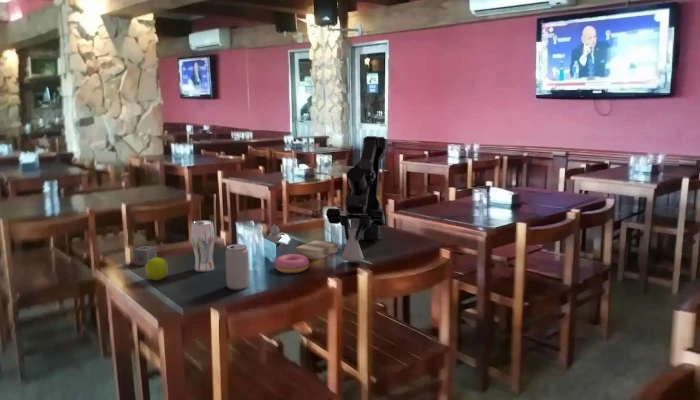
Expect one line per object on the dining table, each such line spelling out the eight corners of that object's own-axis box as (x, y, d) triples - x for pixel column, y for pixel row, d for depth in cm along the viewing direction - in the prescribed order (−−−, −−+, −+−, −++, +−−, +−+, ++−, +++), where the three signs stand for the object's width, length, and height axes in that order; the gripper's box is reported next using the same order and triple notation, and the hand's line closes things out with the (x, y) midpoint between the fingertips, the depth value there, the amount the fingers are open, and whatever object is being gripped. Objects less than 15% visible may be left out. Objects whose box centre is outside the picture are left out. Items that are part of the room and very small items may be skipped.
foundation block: (316, 248, 210) (316, 240, 210) (337, 251, 206) (337, 243, 205) (295, 256, 200) (295, 247, 200) (317, 260, 196) (317, 251, 195)
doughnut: (316, 269, 186) (316, 257, 185) (287, 277, 179) (287, 263, 178) (295, 262, 194) (295, 250, 193) (267, 269, 187) (267, 256, 186)
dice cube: (144, 260, 197) (143, 245, 196) (157, 261, 195) (156, 247, 194) (134, 264, 192) (133, 249, 191) (147, 265, 190) (146, 250, 189)
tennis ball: (145, 277, 178) (143, 256, 177) (168, 275, 180) (166, 254, 179) (146, 284, 172) (144, 262, 171) (170, 281, 174) (168, 259, 173)
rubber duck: (264, 243, 217) (264, 222, 215) (280, 241, 221) (280, 220, 219) (272, 246, 212) (271, 225, 211) (288, 244, 216) (287, 222, 215)
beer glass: (220, 267, 188) (218, 221, 186) (208, 273, 182) (205, 225, 179) (201, 265, 191) (198, 219, 188) (188, 271, 184) (186, 224, 182)
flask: (364, 255, 195) (364, 226, 193) (363, 262, 188) (363, 231, 186) (342, 255, 195) (342, 225, 194) (340, 261, 188) (340, 230, 186)
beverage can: (228, 283, 172) (226, 243, 170) (250, 283, 173) (249, 243, 170) (225, 291, 166) (223, 249, 164) (248, 290, 166) (247, 249, 164)
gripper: (327, 183, 193) (318, 224, 184) (383, 185, 189) (377, 227, 180) (333, 202, 202) (325, 242, 194) (387, 205, 198) (381, 245, 189)
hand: (351, 239), depth 189 cm, fingers closed on flask, 3 cm apart
